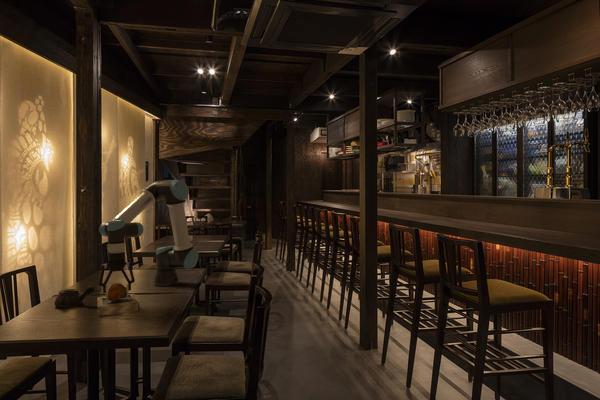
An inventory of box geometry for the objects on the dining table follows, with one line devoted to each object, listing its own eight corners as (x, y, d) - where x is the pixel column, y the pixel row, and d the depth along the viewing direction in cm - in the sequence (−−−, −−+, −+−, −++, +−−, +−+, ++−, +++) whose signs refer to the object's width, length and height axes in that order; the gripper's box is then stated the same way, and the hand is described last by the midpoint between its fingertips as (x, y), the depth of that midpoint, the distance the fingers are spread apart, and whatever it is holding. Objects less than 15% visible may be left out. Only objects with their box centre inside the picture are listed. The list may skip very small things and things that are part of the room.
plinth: (134, 301, 211) (134, 293, 211) (138, 310, 194) (137, 302, 194) (97, 306, 204) (97, 297, 204) (98, 315, 187) (97, 306, 187)
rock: (106, 307, 199) (110, 289, 206) (124, 309, 201) (128, 291, 208) (106, 295, 191) (110, 277, 198) (125, 297, 194) (129, 279, 201)
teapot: (47, 311, 195) (47, 290, 195) (60, 303, 210) (60, 283, 210) (90, 309, 198) (89, 288, 198) (99, 301, 214) (99, 281, 213)
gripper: (139, 249, 207) (140, 294, 207) (91, 252, 197) (92, 299, 197) (140, 251, 200) (141, 297, 200) (91, 254, 190) (92, 303, 191)
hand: (117, 298), depth 199 cm, fingers closed on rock, 8 cm apart
